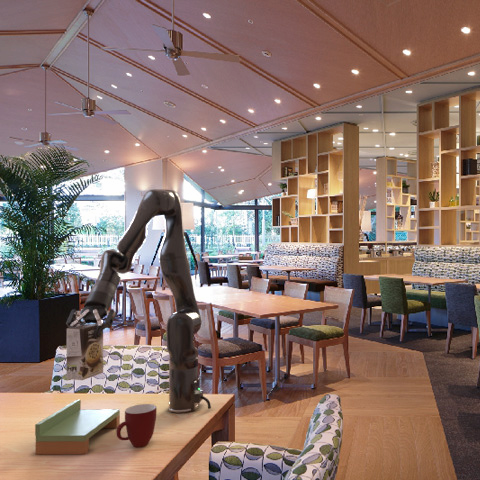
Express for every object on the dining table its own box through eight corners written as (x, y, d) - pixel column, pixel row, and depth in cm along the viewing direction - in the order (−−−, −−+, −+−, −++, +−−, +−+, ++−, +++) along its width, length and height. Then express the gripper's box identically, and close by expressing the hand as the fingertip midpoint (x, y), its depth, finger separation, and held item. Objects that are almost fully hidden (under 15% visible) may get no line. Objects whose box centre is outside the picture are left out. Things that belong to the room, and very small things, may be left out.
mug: (127, 456, 129) (127, 418, 129) (110, 449, 133) (110, 412, 133) (162, 442, 138) (162, 407, 138) (145, 436, 142) (145, 402, 142)
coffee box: (83, 380, 151) (83, 328, 151) (65, 379, 153) (65, 328, 152) (104, 372, 160) (104, 323, 160) (87, 371, 161) (87, 323, 161)
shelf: (119, 425, 150) (119, 399, 150) (84, 454, 130) (85, 424, 130) (76, 425, 150) (76, 399, 150) (35, 454, 130) (35, 424, 130)
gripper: (75, 290, 164) (54, 331, 152) (118, 289, 164) (101, 331, 152) (84, 303, 169) (64, 344, 157) (125, 303, 169) (109, 344, 158)
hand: (82, 337), depth 155 cm, fingers closed on coffee box, 7 cm apart
